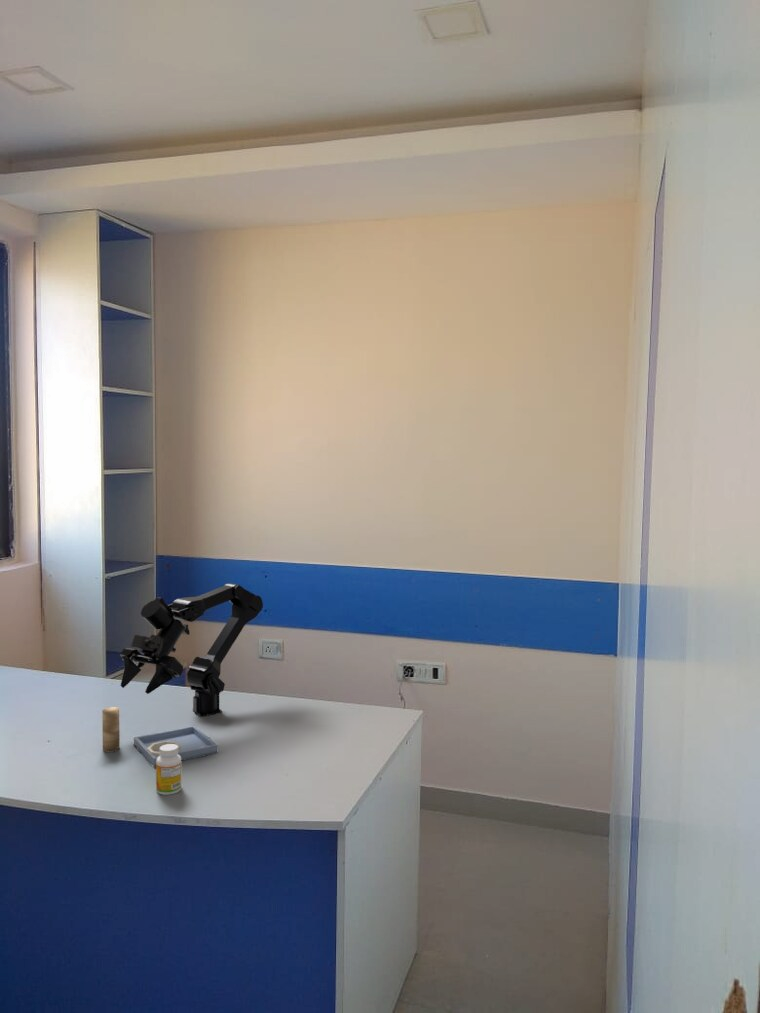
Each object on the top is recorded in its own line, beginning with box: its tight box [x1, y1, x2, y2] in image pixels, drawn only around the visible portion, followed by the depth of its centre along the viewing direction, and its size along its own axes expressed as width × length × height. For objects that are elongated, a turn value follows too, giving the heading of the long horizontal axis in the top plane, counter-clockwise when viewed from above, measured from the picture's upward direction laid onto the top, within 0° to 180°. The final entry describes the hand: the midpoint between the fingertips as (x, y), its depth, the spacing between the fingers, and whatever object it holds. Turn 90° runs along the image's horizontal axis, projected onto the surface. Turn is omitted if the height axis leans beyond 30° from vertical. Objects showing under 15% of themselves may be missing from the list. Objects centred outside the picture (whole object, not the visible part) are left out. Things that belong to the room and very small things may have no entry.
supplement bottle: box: [155, 744, 183, 796], centre depth 168 cm, size 5×5×10 cm
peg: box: [101, 706, 121, 753], centre depth 190 cm, size 4×4×10 cm
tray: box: [133, 725, 219, 767], centre depth 191 cm, size 16×16×2 cm
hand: (134, 689), depth 196 cm, fingers open, 9 cm apart
